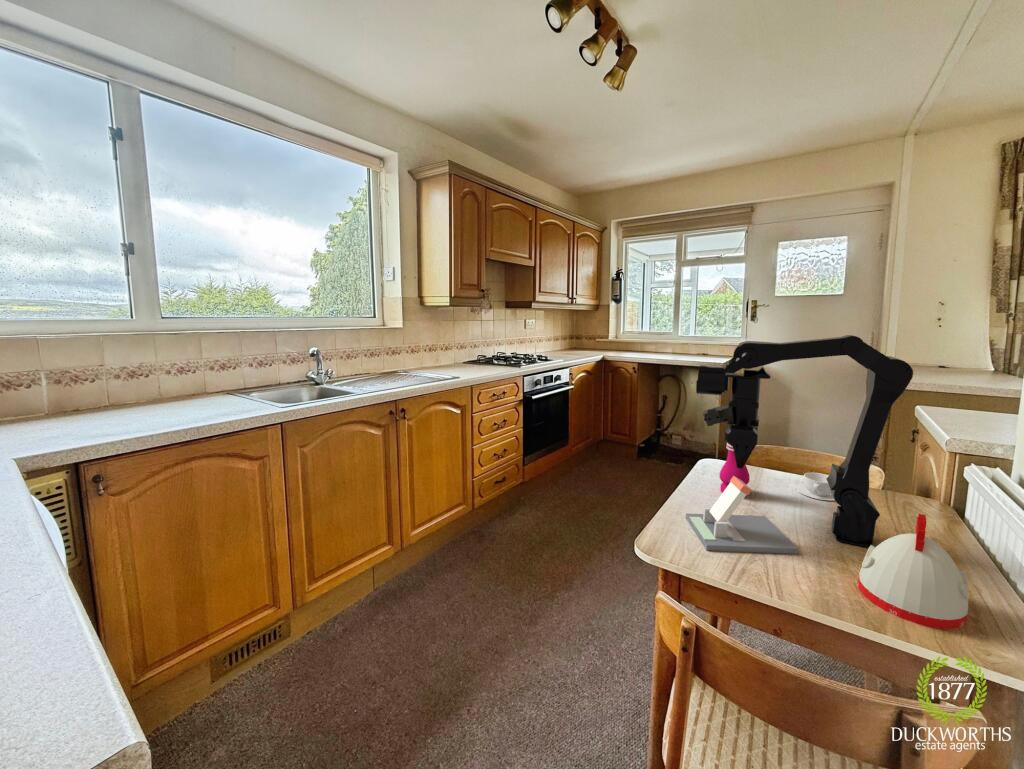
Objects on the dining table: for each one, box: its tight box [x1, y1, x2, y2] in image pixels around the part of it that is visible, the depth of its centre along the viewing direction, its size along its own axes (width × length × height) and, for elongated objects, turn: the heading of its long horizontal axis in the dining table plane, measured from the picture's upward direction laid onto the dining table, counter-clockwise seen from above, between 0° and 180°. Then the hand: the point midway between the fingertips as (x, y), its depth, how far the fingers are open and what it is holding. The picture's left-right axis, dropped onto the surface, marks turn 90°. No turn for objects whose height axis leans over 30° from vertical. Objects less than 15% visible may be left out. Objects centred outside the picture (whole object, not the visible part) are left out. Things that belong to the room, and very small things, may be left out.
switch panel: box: [685, 507, 799, 555], centre depth 96 cm, size 18×14×4 cm
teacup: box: [796, 472, 835, 502], centre depth 117 cm, size 10×10×5 cm
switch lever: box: [709, 476, 753, 522], centre depth 96 cm, size 2×5×10 cm, turn 178°
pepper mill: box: [718, 442, 750, 494], centre depth 117 cm, size 7×7×20 cm
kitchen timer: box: [857, 513, 970, 630], centre depth 74 cm, size 14×14×15 cm
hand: (740, 462), depth 103 cm, fingers open, 9 cm apart
